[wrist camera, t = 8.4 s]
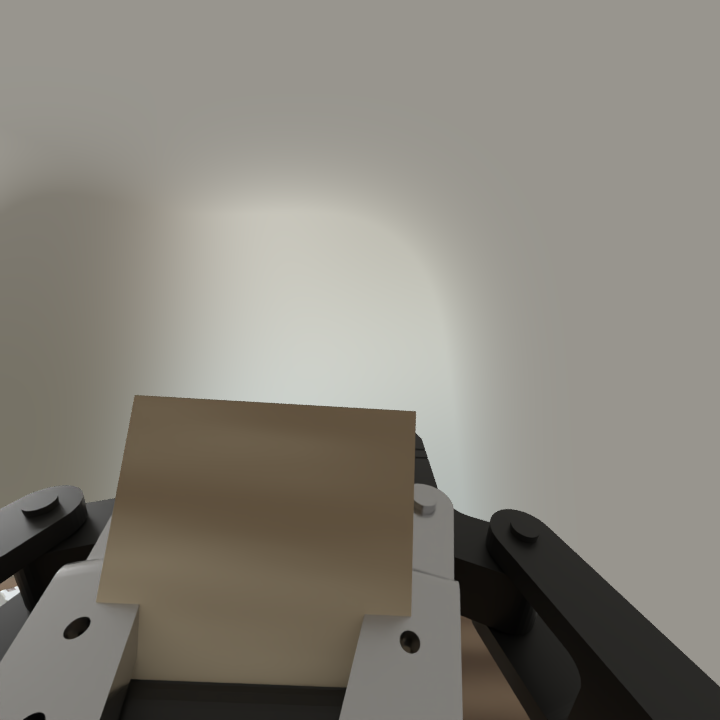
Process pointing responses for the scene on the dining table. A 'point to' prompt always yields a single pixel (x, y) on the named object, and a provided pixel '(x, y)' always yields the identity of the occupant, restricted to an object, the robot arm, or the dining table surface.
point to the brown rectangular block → (260, 537)
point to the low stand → (484, 682)
